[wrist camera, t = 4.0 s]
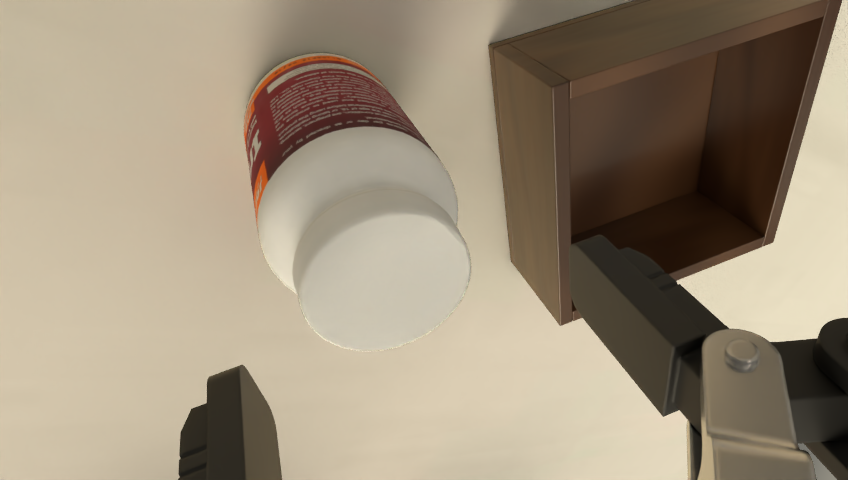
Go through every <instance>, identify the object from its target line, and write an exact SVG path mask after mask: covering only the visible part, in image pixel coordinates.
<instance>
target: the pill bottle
mask: <svg viewBox="0 0 848 480" xmlns="http://www.w3.org/2000/svg"><path fill="white" fill-rule="evenodd" d="M244 136H245V144H246V151H247V156H248V163H249V170H250V178H251V186H252V192H253V199H254V206H255V213H256V221H257V229H258V235H259V240H260V245H261V248H262V252H263V254H264V257H265V259H266V261H267V263H268V265H269V267H270V268H271V270H272V271H273V273H274V274H275V275H276V276H277V278H278V279H279V280H280V281H281V282H282V283H283V284H284V285H285V286H286V287H288V288H289V289H290V290H292V291H293V292H295V293H296V294H297V296H298V299H299V303H300V307H301V310H302V313H303V315H304V317H305V319H306V321H307V323H308V324H309V326H310V327H311V328H312V329H313V330H314V331H315V332H316V333H317V334H318V335H319V336H320V337H321V338H323V339H324V340H326V341H328V342H329V343H331V344H333V345H335V346H338V347H342V348H345V349H349V350H354V351H380V350H388V349H392V348H396V347H399V346H402V345H405V344H408V343H410V342H413V341H415V340H417V339H419V338H421V337H423V336H424V335H426V334H428V333H429V332H431V331H432V330H434V329H435V328H436V327H438V326H439V325H440V324H441V323H442V322H443V321H445V320H446V319H447V318H448V317H449V316H450V315H451V314H452V312H453V311H454V310H455V309H456V307H457V306H458V304H459V303H460V301H461V300H462V298H463V296H464V294H465V291H466V289H467V286H468V283H469V280H470V273H471V259H470V254H469V251H468V248H467V245H466V243H465V241H464V239H463V237H462V235H461V233H460V232H459V230H458V228H457V219H458V203H457V196H456V192H455V188H454V185H453V182H452V180H451V178H450V176H449V174H448V172H447V170H446V169H445V167H444V165H443V164H442V162H441V161H440V159H439V158H438V156H437V155H436V154H435V153H434V151H433V150H432V149H431V147H430V146H429V145H428V143H427V142H426V141H425V139H424V138H423V137H422V135H421V134H420V133H419V132H418V130H417V129H416V127H415V126H414V125H413V123H412V122H411V121H410V119H409V118H408V117H407V115H406V114H405V113H404V111H403V110H402V109H401V107H400V106H399V105H398V103H397V102H396V101H395V99H394V98H393V97H392V96H391V94H390V93H389V91H388V90H387V89H386V87H385V86H384V85H383V84H382V83H381V82H380V80H379V79H378V78H376V77H375V75H374V74H373V73H371V72H370V71H369V70H368V69H367V68H365V67H364V66H362V65H361V64H359V63H357V62H356V61H353V60H351V59H349V58H346V57H343V56H340V55H335V54H328V53H312V54H306V55H301V56H298V57H295V58H292V59H289V60H287V61H285V62H283V63H281V64H279V65H278V66H276V67H275V68H273V69H272V70H271V71H270V72H269V73H268V74H266V75H265V76H264V77H263V79H262V80H261V81H260V82H259V83H258V85H257V86H256V88H255V89H254V91H253V93H252V95H251V97H250V99H249V102H248V104H247V107H246V112H245V118H244Z"/></svg>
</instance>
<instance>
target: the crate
mask: <svg viewBox="0 0 848 480" xmlns="http://www.w3.org/2000/svg"><path fill="white" fill-rule="evenodd" d="M841 3H842V0H635V1H632V2H629V3H625V4H622V5H619V6H616V7H612V8H609V9H606V10H602V11H599V12H596V13H592V14H589V15H586V16H583V17H579V18H576V19H573V20H569V21H566V22H563V23H559V24H556V25H553V26H550V27H546V28H543V29H540V30H536V31H533V32H530V33H526V34H523V35H520V36H516V37H513V38H510V39H507V40H503V41H500V42H497V43H493V44H490V45H489V55H490V64H491V74H492V83H493V93H494V102H495V112H496V122H497V131H498V141H499V150H500V160H501V169H502V179H503V188H504V198H505V208H506V217H507V227H508V236H509V246H510V255H511V262H512V263H513V264H514V266H515V267H516V268H517V270H518V271H519V272H520V274H521V275H522V276H523V277H524V279H525V280H526V281H527V283H528V284H529V285H530V287H531V288H532V289H533V291H534V292H535V293H536V295H537V296H538V297H539V299H540V300H541V301H542V302H543V304H544V305H545V306H546V308H547V309H548V310H549V312H550V313H551V314H552V316H553V317H554V318H555V320H556V321H557V322H558V324H559V325H560V326H561V325H564V324H566V323H569V322H571V321H572V320H573V321H575V320H577V319H580V318H582V316H581V315H580V314H579V312H578V311H577V309H576V307H575V305H574V303H573V301H572V298H571V294H570V284H569V247H570V245H572V244H574V243H577V242H580V241H582V240H585V239H588V238H591V237H593V236H596V235H603V236H604V237H605V238H607V239H608V240H609V241H610V242H611V243H612V244H613V245H614V246H615V247H616V248H617V249H618V250H620V249H623V248H626V247H629V248H631V249H634V250H636V251H638V252H640V253H643V254H645V255H647V256H649V257H650V258H651V259H652V260H653V261H654V262H656V263H657V264H658V265H659V266H660V267H661V268H662V269H663V270H664V272H665V273H668V274H669V275H670V276H671V277H672V278H673V279H674V280H676V281H677V280H679V279H682V278H684V277H687V276H689V275H692V274H694V273H697V272H699V271H702V270H704V269H707V268H710V267H712V266H715V265H717V264H720V263H722V262H725V261H727V260H730V259H732V258H735V257H738V256H740V255H743V254H745V253H748V252H750V251H753V250H755V249H758V248H760V247H762V246H765V245H768V244H770V243H773V241H774V238H775V234H776V231H777V227H778V224H779V220H780V217H781V213H782V210H783V206H784V203H785V199H786V196H787V192H788V189H789V185H790V182H791V178H792V175H793V171H794V168H795V164H796V161H797V157H798V154H799V150H800V147H801V143H802V140H803V136H804V133H805V129H806V126H807V122H808V118H809V115H810V111H811V108H812V104H813V101H814V97H815V94H816V90H817V87H818V83H819V80H820V76H821V73H822V69H823V66H824V62H825V59H826V55H827V52H828V48H829V45H830V41H831V38H832V34H833V31H834V27H835V24H836V20H837V17H838V13H839V10H840V6H841Z"/></svg>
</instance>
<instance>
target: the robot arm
mask: <svg viewBox="0 0 848 480" xmlns="http://www.w3.org/2000/svg"><path fill="white" fill-rule="evenodd" d="M569 284H570V294H571V298H572V301H573V303H574V305H575V307H576V309H577V311H578V312H579V314H580V315H581V316H582V318H583V319H584V320H585V321H586V322H587V324H588V325H589V326H590V327H591V329H592V330H593V331H594V332H595V334H596V335H597V336H598V337H599V338H600V340H601V341H602V342H603V343H604V345H605V346H606V347H607V348H608V350H609V351H610V352H611V353H612V354H613V356H614V357H615V358H616V359H617V361H618V362H619V363H620V364H621V366H622V367H623V368H624V369H625V370H626V372H627V373H628V374H629V375H630V377H631V378H632V379H633V380H634V381H635V383H636V384H637V385H638V386H639V388H640V389H641V390H642V391H643V393H644V394H645V395H646V396H647V397H648V399H649V400H650V401H651V402H652V404H653V405H654V406H655V407H656V409H657V410H658V411H659V412H660V413H661V415H662V416H663V417H664V416H666V415H668V414H671V413H673V412H675V411H678V410H680V411H681V412H682V413H683V415H684V416H685V417H686V418H687V419H688V421H687V465H688V480H817V479H816V474H815V469H814V465H813V461H812V459H811V457H810V455H809V453H808V452H807V451H804V450H800V449H799V447H798V443H804V444H805V445H806V446H807V447H808V449H809V450H810V451H811V452H812V453H813V454H814V455H815V456H816V457H817V458H818V459H819V460H820V461H821V462H822V464H823V465H824V466H825V467H826V468H827V469H828V470H829V471H830V472H831V473H832V474H833V475H834V476H835V477H836V478H837V480H848V318H840V319H835V320H832V321H830V322H828V323H826V324H825V325H824V326H823V327H822V328H821V331H820V333H819V336H818V338H817V339H807V340H796V341H785V342H769V341H768V340H766V339H765V338H763V337H761V336H759V335H757V334H755V333H752V332H749V331H745V330H740V329H729V328H728V327H727V326H725V325H724V324H723V323H722V322H721V321H720V320H719V319H718V318H717V317H715V316H714V315H713V314H712V313H711V312H710V311H709V310H708V309H707V308H705V307H704V306H703V305H702V304H701V303H700V302H699V301H698V300H697V299H695V298H694V297H693V296H692V295H691V294H690V293H689V292H688V291H687V290H685V289H684V288H683V287H682V286H681V285H680V284H679V285H678V284H677V282H676V280H674V279H673V278H672V277H671V276H670V275H669V274H668V273H665V272H664V270H663V269H662V268H661V267H660V266H659V265H658V264H657V263H656V262H654V261H653V260H652V259H651V258H650V257H649V256H647V255H645V254H643V253H640V252H638V251H636V250H634V249H631V248H629V247H626V248H623V249H620V250H618V249H617V248H616V247H615V246H614V245H613V244H612V243H611V242H610V241H609V240H608V239H607V238H605V237H604V236H603V235H596V236H593V237H591V238H588V239H585V240H582V241H580V242H577V243H574V244H572V245H570V247H569ZM180 457H181V459H180V460H179V476H180V478H179V479H178V480H282V475H281V466H280V457H279V449H278V440H277V431H276V425H275V421H274V418H273V415H272V412H271V409H270V407H269V405H268V403H267V401H266V400H265V398H264V396H263V395H262V393H261V392H260V390H259V388H258V387H257V385H256V383H255V382H254V380H253V378H252V377H251V375H250V374H249V372H248V370H247V369H246V367H245V366H244V365H240V366H237V367H235V368H232V369H229V370H226V371H224V372H221V373H218V374H216V375H213V376H210V377H209V378H208V381H207V403H206V404H204V405H201V406H198V407H196V408H193V409H191V411H190V413H189V415H188V418H187V420H186V422H185V424H184V427H183V429H182V431H181V438H180Z"/></svg>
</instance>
